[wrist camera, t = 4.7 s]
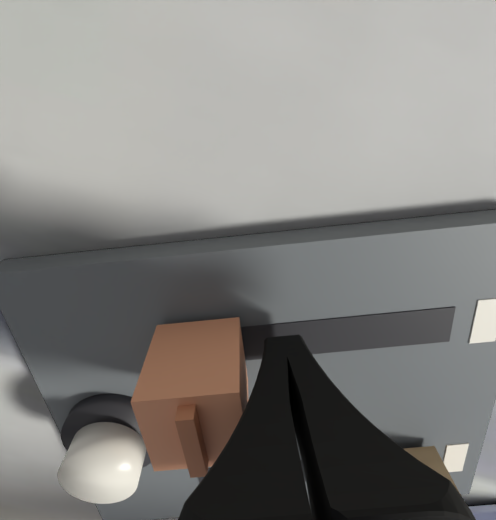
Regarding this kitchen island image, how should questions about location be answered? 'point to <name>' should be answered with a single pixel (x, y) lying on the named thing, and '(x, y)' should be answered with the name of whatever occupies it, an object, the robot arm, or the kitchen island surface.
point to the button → (103, 463)
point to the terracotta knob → (191, 393)
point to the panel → (276, 328)
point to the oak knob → (431, 460)
